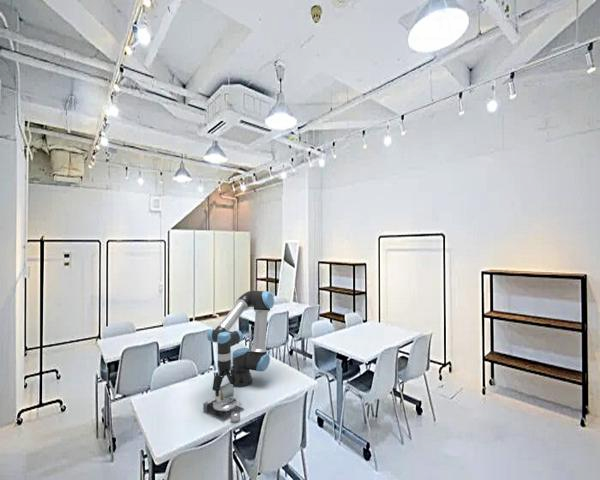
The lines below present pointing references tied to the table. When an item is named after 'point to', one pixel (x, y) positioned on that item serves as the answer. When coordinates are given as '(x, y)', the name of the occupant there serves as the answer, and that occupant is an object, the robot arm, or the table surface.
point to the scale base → (219, 414)
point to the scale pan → (224, 405)
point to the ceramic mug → (227, 392)
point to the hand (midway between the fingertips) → (224, 398)
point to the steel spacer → (235, 416)
